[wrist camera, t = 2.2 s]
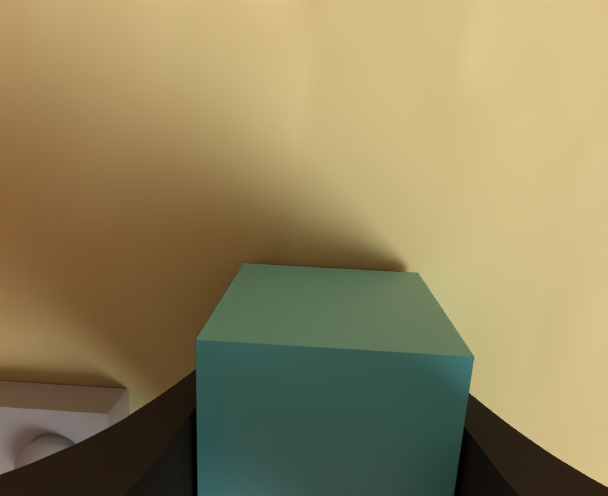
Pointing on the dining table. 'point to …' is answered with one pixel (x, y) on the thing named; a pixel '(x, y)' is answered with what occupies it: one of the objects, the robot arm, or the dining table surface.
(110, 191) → the dining table surface
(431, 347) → the teal brick
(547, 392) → the dining table surface
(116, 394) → the baseplate
